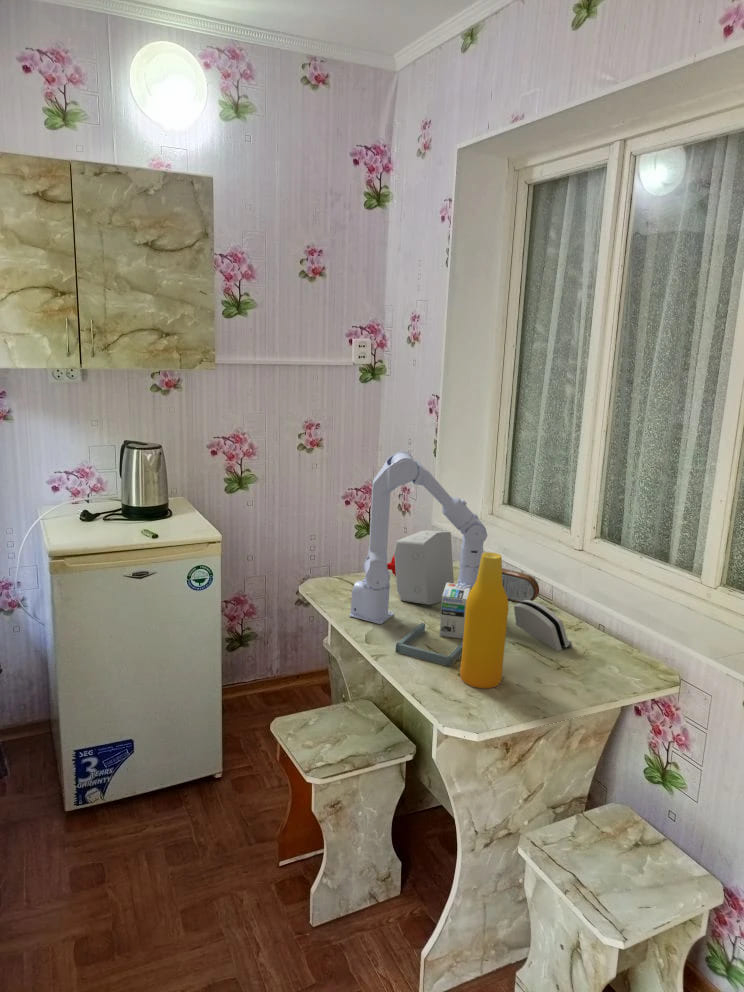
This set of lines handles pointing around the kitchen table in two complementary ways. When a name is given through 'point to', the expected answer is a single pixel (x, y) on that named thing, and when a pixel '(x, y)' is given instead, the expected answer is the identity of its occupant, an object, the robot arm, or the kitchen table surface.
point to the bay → (425, 654)
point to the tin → (519, 586)
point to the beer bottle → (485, 626)
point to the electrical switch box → (423, 566)
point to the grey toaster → (541, 624)
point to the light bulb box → (453, 610)
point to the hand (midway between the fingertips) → (466, 612)
